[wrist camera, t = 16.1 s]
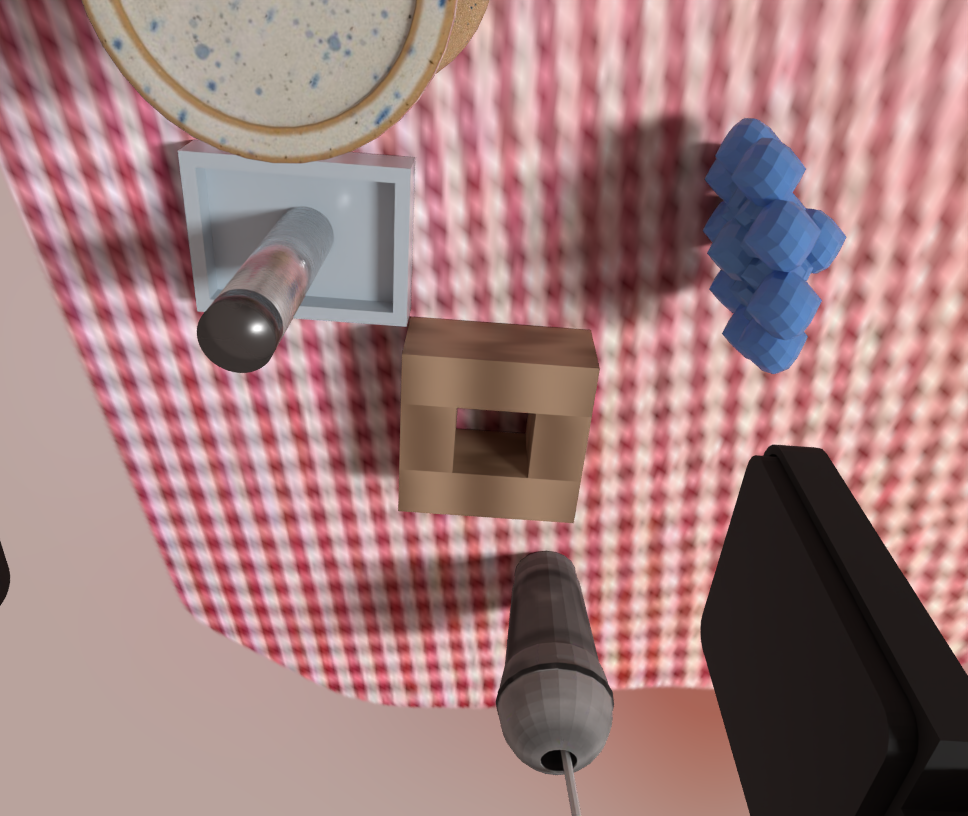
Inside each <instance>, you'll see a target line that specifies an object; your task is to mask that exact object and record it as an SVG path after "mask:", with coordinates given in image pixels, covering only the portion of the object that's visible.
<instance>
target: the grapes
mask: <svg viewBox="0 0 968 816" xmlns="http://www.w3.org/2000/svg"><path fill="white" fill-rule="evenodd" d="M715 157H716V158H717V159H716V160H715V162H714V163H713V165H712V166H711V168H710V170H709V172H708V174H707V176H706V177H705V180H706V182H707V183H708V184H709V185H710V187H711V188H712V189H713V190H714V191H715V193H716V194H717V195H718V196H719V197H720V198H721V199H723V200H724V201H722V202H721V203H720V204H719V205H718V206H717V208H716V209H715V211H714V212H713V214H712V215H711V217H710V218H709V220H708V221H707V223H706V225H705V227H704V229H703V232H704V233H705V234H706V235H707V237H708V238H709V239H710V240H711V241H712V242H713V243H712V245H711V247H710V249H709V251H708V253H707V254H708V255H709V256H710V257H711V259H712V260H713V261H714V262H715V263H716V265H717V266H718V267H719V268H720V269H721V270H720V272H719V273H718V274H717V276H716V277H715V279H714V281H713V283H712V285H711V287H710V291H711V292H712V293H713V294H714V295H715V297H716V298H717V299H718V300H719V301H720V302H721V303H722V304H723V305H724V306H725V307H726V308H727V309H729V310H730V311H731V312H732V313H734V314H733V315H732V317H731V318H730V320H729V321H728V323H727V325H726V327H725V329H724V331H723V333H722V334H723V335H724V336H725V338H726V339H727V340H728V341H729V343H730V344H731V345H732V346H733V347H734V348H735V349H736V350H738V351H739V352H740V353H741V354H742V355H743V356H744V357H745V358H747V359H750V360H751V361H752V362H753V363H754V364H756V365H757V366H758V367H759V368H760V369H761V370H762V371H765V372H768V373H771V374H776V373H780V372H782V371H784V370H786V369H789V368H790V366H791V365H792V364H793V362H794V361H795V360H796V359H797V357H798V355H799V353H800V351H801V350H802V348H803V345H804V343H805V341H806V339H807V337H808V336H807V335H806V334H805V333H804V331H805V329H806V328H807V327H808V325H809V324H810V323H811V321H812V319H813V317H814V316H815V314H816V312H817V310H818V308H819V305H820V303H821V301H822V300H821V299H820V298H819V296H818V295H817V294H816V293H815V291H814V290H813V289H812V288H811V287H810V285H809V284H808V283H807V282H806V281H807V280H808V278H809V276H810V274H811V273H819V272H821V271H823V270H825V269H827V268H828V267H829V266H830V264H831V263H832V262H833V260H834V259H835V258H836V256H837V255H838V253H839V251H840V249H841V247H842V245H843V243H844V241H845V239H846V236H845V234H844V233H843V232H842V231H841V229H840V228H839V227H838V226H837V224H836V223H835V222H834V221H833V219H832V218H830V217H829V216H828V215H826V214H825V213H824V212H822V211H821V210H815V209H806V208H805V207H804V206H803V204H802V203H801V202H800V201H799V199H798V198H796V196H795V195H794V194H793V193H792V192H793V191H794V189H795V188H796V186H797V185H798V183H799V182H800V180H801V178H802V176H803V174H804V172H805V170H806V168H805V167H804V165H803V164H802V163H801V161H800V160H799V159H798V157H797V156H796V155H795V154H794V152H793V151H792V150H791V149H790V148H789V147H788V146H786V145H785V144H784V143H782V142H781V141H780V140H779V138H778V137H777V136H776V135H775V133H774V132H773V131H772V130H771V128H770V127H768V126H767V125H765V124H764V123H763V122H761V121H760V120H757V119H753V118H744V119H742V120H741V121H740V122H738V123H737V124H736V125H735V126H734V127H733V128H732V129H731V130H730V131H729V133H728V134H727V136H726V138H725V139H724V141H723V142H722V144H721V146H720V148H719V149H718V151H717V153H716V155H715Z"/></svg>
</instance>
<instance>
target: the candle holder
mask: <svg viewBox="0 0 968 816" xmlns="http://www.w3.org/2000/svg"><path fill="white" fill-rule="evenodd" d="M82 3H83V6H84V8H85V11H86V14H87V16H88V18H89V20H90V22H91V24H92V26H93V28H94V30H95V32H96V34H97V36H98V37H99V39H100V41H101V43H102V45H103V47H104V48H105V50H106V51H107V53H108V54H109V56H110V57H111V59H112V60H113V62H114V63H115V64H116V66H117V67H118V69H119V70H120V72H121V73H122V75H123V76H124V77H125V78H126V79H127V80H128V81H129V83H130V84H131V85H132V86H133V87H134V88H135V89H136V90H137V92H138V93H139V94H140V95H141V96H142V97H143V98H144V99H145V100H146V101H147V102H148V103H149V104H150V105H151V106H153V107H154V108H155V109H156V110H157V111H158V112H159V113H161V114H162V115H163V116H164V117H165V118H166V119H167V120H169V121H170V122H172V123H173V124H175V125H176V126H178V127H179V128H181V129H182V130H184V131H185V132H187V133H188V134H190V135H191V136H192V137H194V138H196V139H198V140H200V141H202V142H204V143H206V144H209V145H211V146H213V147H215V148H217V149H219V150H221V151H224V152H227V153H230V154H234V155H237V156H240V157H243V158H246V159H251V160H257V161H263V162H269V163H290V164H302V163H308V162H315V161H321V160H327V159H330V158H333V157H336V156H339V155H342V154H345V153H348V152H351V151H354V150H356V149H358V148H359V147H361V146H363V145H365V144H367V143H369V142H371V141H372V140H374V139H376V138H378V137H379V136H381V135H382V134H383V133H384V132H386V131H387V130H388V129H390V128H391V127H392V126H393V125H395V124H396V123H397V122H398V121H400V120H401V119H402V118H403V116H404V115H405V114H406V113H407V112H408V111H409V110H410V109H411V108H412V107H413V105H414V104H415V103H416V102H417V101H418V100H419V98H420V97H421V95H422V94H423V92H424V91H425V89H426V88H427V86H428V85H429V83H430V82H431V80H432V79H433V77H434V75H435V74H436V73H438V72H439V71H440V70H441V69H443V68H444V67H445V66H446V65H448V64H449V63H450V62H452V61H453V60H454V59H455V58H456V56H457V55H458V54H459V53H460V52H461V51H462V50H463V49H464V48H465V47H466V45H467V44H468V42H469V41H470V39H471V38H472V36H473V35H474V33H475V32H476V30H477V29H478V27H479V24H480V22H481V20H482V18H483V16H484V14H485V11H486V9H487V6H488V3H489V0H82Z"/></svg>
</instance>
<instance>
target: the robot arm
mask: <svg viewBox="0 0 968 816" xmlns="http://www.w3.org/2000/svg"><path fill="white" fill-rule="evenodd" d="M9 584H10V572H9V567H8V564H7V561H6V558H5V555H4V551H3V548H2V545H1V542H0V605H1V604H2V602H3V600H4V599H5V597H6V595H7V592H8V589H9ZM701 643H702V648H703V652H704V655H705V659H706V662H707V666H708V669H709V673H710V676H711V680H712V683H713V687H714V690H715V694H716V697H717V701H718V704H719V708H720V711H721V715H722V718H723V722H724V725H725V729H726V732H727V736H728V739H729V743H730V746H731V750H732V753H733V757H734V760H735V764H736V767H737V771H738V774H739V777H740V781H741V785H742V788H743V792H744V795H745V799H746V802H747V806H748V809H749V813H750V816H968V675H967V674H966V672H965V671H964V669H963V668H962V666H961V664H960V663H959V661H958V660H957V658H956V656H955V655H954V653H953V652H952V650H951V649H950V647H949V645H948V644H947V642H946V641H945V639H944V638H943V636H942V634H941V633H940V631H939V630H938V628H937V626H936V625H935V623H934V622H933V620H932V619H931V617H930V615H929V614H928V612H927V611H926V609H925V608H924V606H923V604H922V603H921V601H920V600H919V598H918V596H917V595H916V593H915V592H914V590H913V589H912V587H911V585H910V584H909V582H908V581H907V579H906V578H905V576H904V575H903V573H902V572H901V570H900V569H899V567H898V566H897V564H896V562H895V561H894V559H893V558H892V556H891V554H890V553H889V551H888V550H887V548H886V547H885V545H884V543H883V542H882V540H881V539H880V537H879V536H878V534H877V532H876V531H875V529H874V528H873V526H872V524H871V523H870V521H869V520H868V518H867V517H866V515H865V513H864V512H863V510H862V509H861V507H860V506H859V504H858V502H857V501H856V499H855V498H854V496H853V494H852V493H851V491H850V490H849V488H848V487H847V485H846V483H845V482H844V480H843V479H842V477H841V476H840V474H839V472H838V471H837V469H836V468H835V466H834V464H833V463H832V461H831V460H830V458H829V457H828V455H827V454H826V453H825V451H824V450H823V449H820V448H814V447H800V446H786V445H771V446H769V447H768V449H767V450H766V451H765V453H764V455H763V456H757V455H755V456H753V457H752V458H751V459H750V460H749V463H748V465H747V468H746V471H745V475H744V478H743V481H742V485H741V488H740V491H739V495H738V498H737V501H736V505H735V508H734V511H733V515H732V518H731V521H730V525H729V528H728V531H727V535H726V538H725V541H724V545H723V548H722V551H721V555H720V558H719V561H718V565H717V568H716V571H715V575H714V578H713V581H712V585H711V588H710V591H709V595H708V598H707V601H706V605H705V608H704V612H703V615H702V620H701Z"/></svg>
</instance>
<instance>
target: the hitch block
mask: <svg viewBox="0 0 968 816" xmlns="http://www.w3.org/2000/svg"><path fill="white" fill-rule="evenodd" d="M599 370H600V368H599V363H598V359H597V355H596V350H595V346H594V342H593V338H592V333H591V330H582V329H569V328H556V327H542V326H529V325H515V324H502V323H488V322H475V321H462V320H448V319H435V318H421V317H410V322H409V326H408V330H407V335H406V339H405V343H404V348H403V352H402V375H401V418H400V461H399V504H398V511H405V512H419V513H434V514H449V515H463V516H478V517H492V518H507V519H522V520H536V521H551V522H565V523H574V518H575V512H576V506H577V500H578V494H579V488H580V482H581V476H582V471H583V465H584V459H585V453H586V447H587V441H588V435H589V429H590V423H591V417H592V412H593V406H594V400H595V394H596V388H597V382H598V376H599ZM457 408H466V409H480V410H493V411H507V412H521V413H528V418H527V426H526V434H525V433H511V432H497V431H483V430H468V429H456V422H457Z"/></svg>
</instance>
